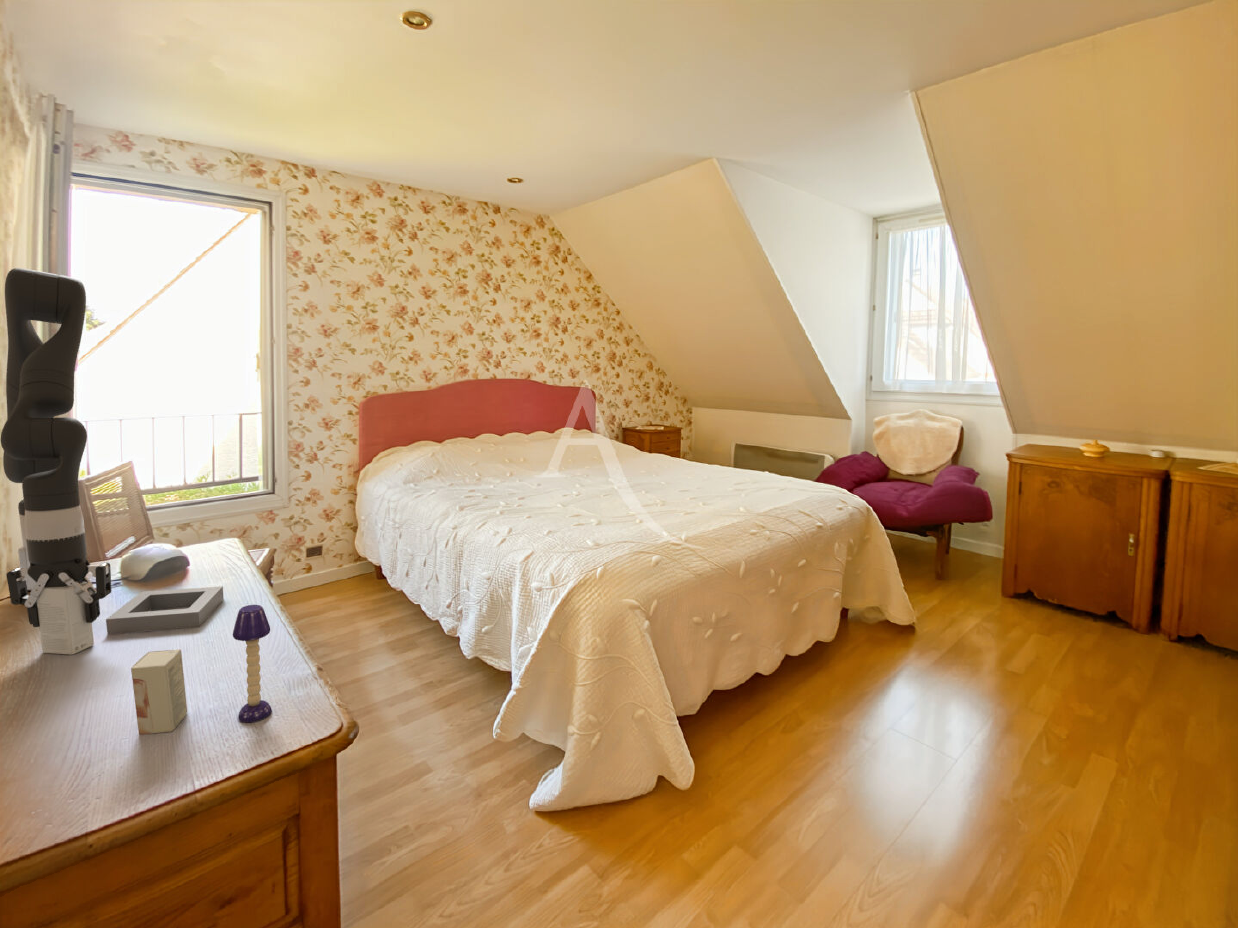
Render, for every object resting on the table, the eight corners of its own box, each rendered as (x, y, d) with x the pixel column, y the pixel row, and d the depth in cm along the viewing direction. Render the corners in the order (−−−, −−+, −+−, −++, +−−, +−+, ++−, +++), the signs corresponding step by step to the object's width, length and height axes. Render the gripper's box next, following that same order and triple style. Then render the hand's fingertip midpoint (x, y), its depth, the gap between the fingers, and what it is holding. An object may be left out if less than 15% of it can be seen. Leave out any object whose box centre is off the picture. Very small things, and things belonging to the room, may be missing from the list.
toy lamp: (281, 707, 92) (275, 601, 89) (264, 724, 87) (257, 614, 85) (248, 707, 92) (242, 601, 89) (230, 724, 87) (222, 613, 84)
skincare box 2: (154, 715, 89) (149, 650, 87) (188, 712, 90) (183, 648, 88) (135, 736, 84) (128, 667, 82) (171, 732, 85) (165, 664, 83)
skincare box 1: (95, 645, 110) (89, 581, 108) (72, 655, 106) (65, 589, 104) (65, 642, 111) (58, 579, 109) (40, 653, 106) (33, 587, 105)
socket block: (107, 634, 114) (105, 619, 114) (142, 605, 129) (141, 591, 128) (199, 626, 119) (198, 612, 119) (223, 599, 133) (222, 586, 133)
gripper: (116, 525, 111) (124, 611, 113) (17, 529, 107) (28, 619, 109) (95, 536, 104) (104, 627, 106) (-12, 540, 99) (0, 636, 102)
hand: (65, 623), depth 108 cm, fingers closed on skincare box 1, 7 cm apart
